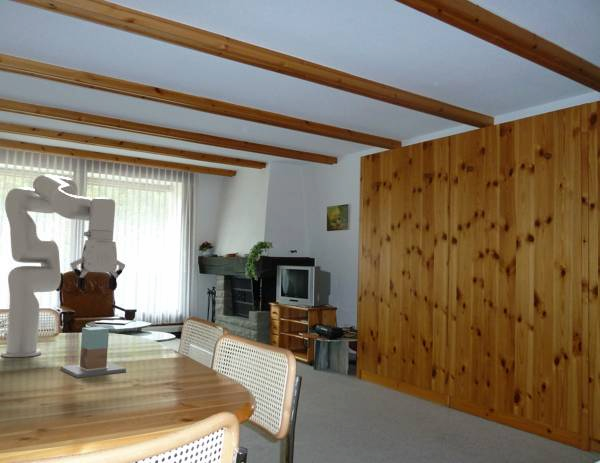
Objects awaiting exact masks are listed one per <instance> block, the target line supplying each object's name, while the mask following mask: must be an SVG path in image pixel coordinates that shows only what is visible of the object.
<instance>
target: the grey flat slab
mask: <svg viewBox="0 0 600 463" xmlns="http://www.w3.org/2000/svg"><path fill="white" fill-rule="evenodd" d="M59 369H60V371H62V372H64V373H66V374H69V375H71V376H72V377H75V378H77V379H79V378H87V377H94V376H95V377H96V376H102V375H111V374H118V373H126V372H127V368H126V367H123V366H121V365H118V364H115V363H113V362H111V361H108V360H107V367H104V368H96V369H88V370H87V369H85V368H83V367H81V366H80V363H78V364H70V365H61V366H60V368H59Z"/></svg>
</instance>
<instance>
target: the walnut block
mask: <svg viewBox="0 0 600 463" xmlns="http://www.w3.org/2000/svg"><path fill="white" fill-rule="evenodd" d="M108 348H109V347H108ZM108 348H102V349H92V350H88V349H85V348H82V347H81V346H80V356H79V357H80V358H79V364H80V366H81V367H83V368H85V369H87V370H88V369H96V368H104V367H107V361H108Z"/></svg>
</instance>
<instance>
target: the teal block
mask: <svg viewBox="0 0 600 463" xmlns="http://www.w3.org/2000/svg"><path fill="white" fill-rule="evenodd" d="M109 336H110V329H109V328H108V327H103V326H91V327H88V326H87V327H81V343H80V348H81V347H82V348H85V349H88V350H92V349H102V348H109V338H110V337H109Z"/></svg>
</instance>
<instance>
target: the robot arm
mask: <svg viewBox="0 0 600 463" xmlns="http://www.w3.org/2000/svg"><path fill="white" fill-rule="evenodd" d="M77 194H78V186H77V183H76V181H74V180H73V179H72V178H69V177H64V176H60V175H55V174H54V175H52V174H41V175H38V176H37V177H35V179H33V183H32V188H31V187H15V188H12V189H10V190H9V191H8V192H7V194H6V197H5V201H4V209H5V213H6V217H7V220H8V223H9V229H10V230H9V233H10V235H9V236H10V250H11V257H12V259H13V260H14V261H15V262H17V263H21V264H22V263H24V264H40V265H39V266H38V265H21V266H16V267H13V269H11V270H10V271H9V273H8V275H7V276H8V277H7V282H8V289H9V290H8V291H9V306H8V307H9V309H8V311H9V312H8V325H7V340H6V349H5V350H2V351H1V352H0V353H1V356H2V357H5V358H28V357H35V356H40V355H41V354H42V350H41V349H40V348H37V347H38V335H39V333H38V332H39V316H40V315H39V314H40V303H39V300H38V299H37V297H36V295H35V293H49V292H54V291H56V290H57V289H59V287H60V285H61V278H62V277H61V263H60V248H59V246H58V244H57V242H56V241H55V240H53V239H51V238H48V237H38V234H37V225H36V222H35V221H34V219H33V217H32V216H31V215H30V214H29V212H31V213H42V214H54V213H56V214H57V215H59V216H61V217H63V218H64V219H69V220H78V221H86V222H87V221H88V229H87V231H84V232H83V236H84V237H86V240H84V244H83V249H82V252H81V258H78V259H77V260H74V261H72V262H70V263H69V265H70V269H71V270H72V272H73V273H74V275H76V277H77V288H78V291H81V292H84V291H85V289H86V278H85V276H86V275H87V274H88V273H90V272H91V273H92V272H93V273H108V274H109V276H110V277H109V278H108V279H109V280H108V290H110V291H116V287H117V278H118V277H119V276H120V275H121V274H122V273H123V270H124V269H125V267H126V264H124V263H123V262H121V261H120V260H118V252H117V250H118V249H117V243H116V241H114V229H115V217H116V216H115V214H116V212H115V211H116V202H115V200H114V199H112V198H107V197H94V198H92V197H87V196H80V195H79V196H78V195H77ZM79 265H80V270H79V269H78V266H79ZM117 267H118V269H117Z"/></svg>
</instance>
